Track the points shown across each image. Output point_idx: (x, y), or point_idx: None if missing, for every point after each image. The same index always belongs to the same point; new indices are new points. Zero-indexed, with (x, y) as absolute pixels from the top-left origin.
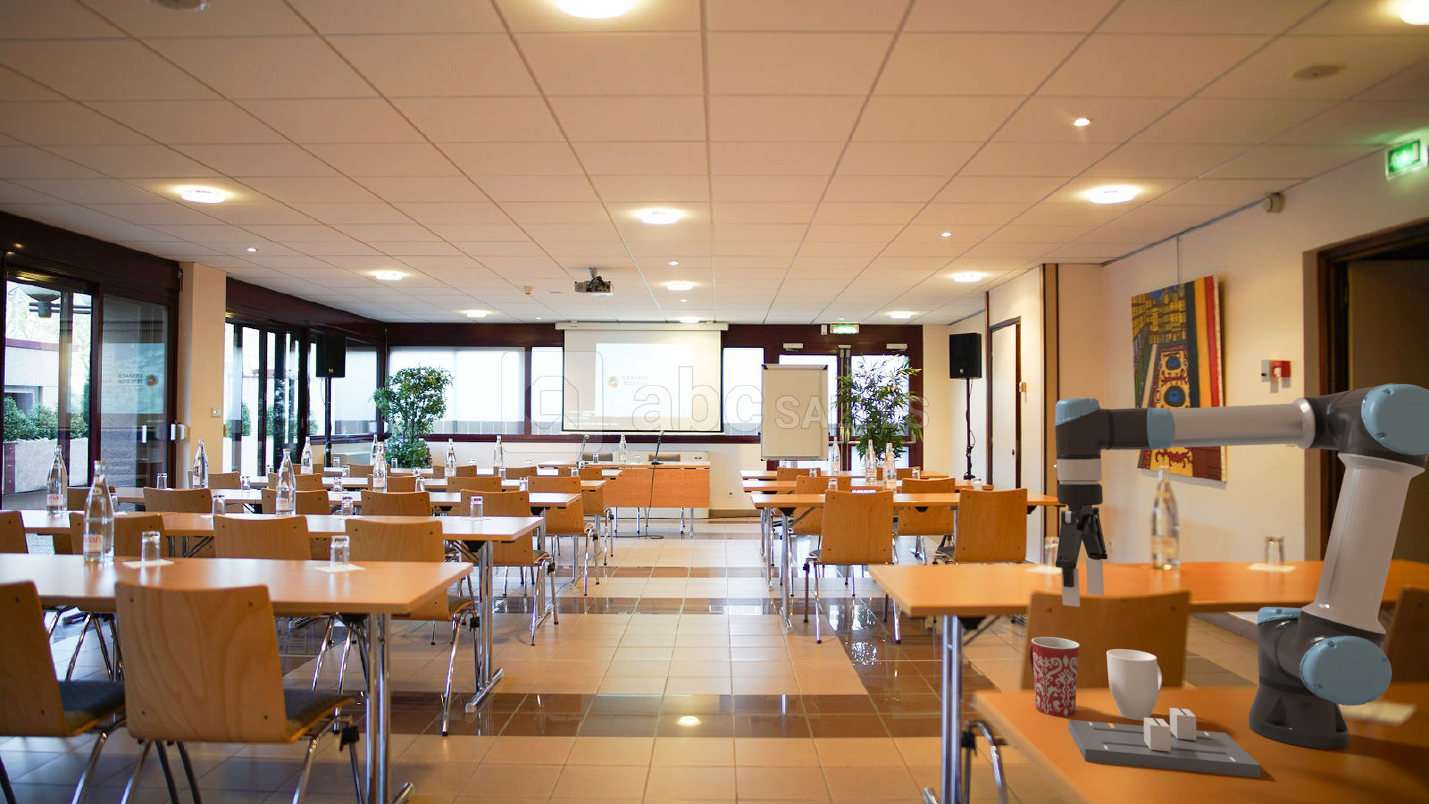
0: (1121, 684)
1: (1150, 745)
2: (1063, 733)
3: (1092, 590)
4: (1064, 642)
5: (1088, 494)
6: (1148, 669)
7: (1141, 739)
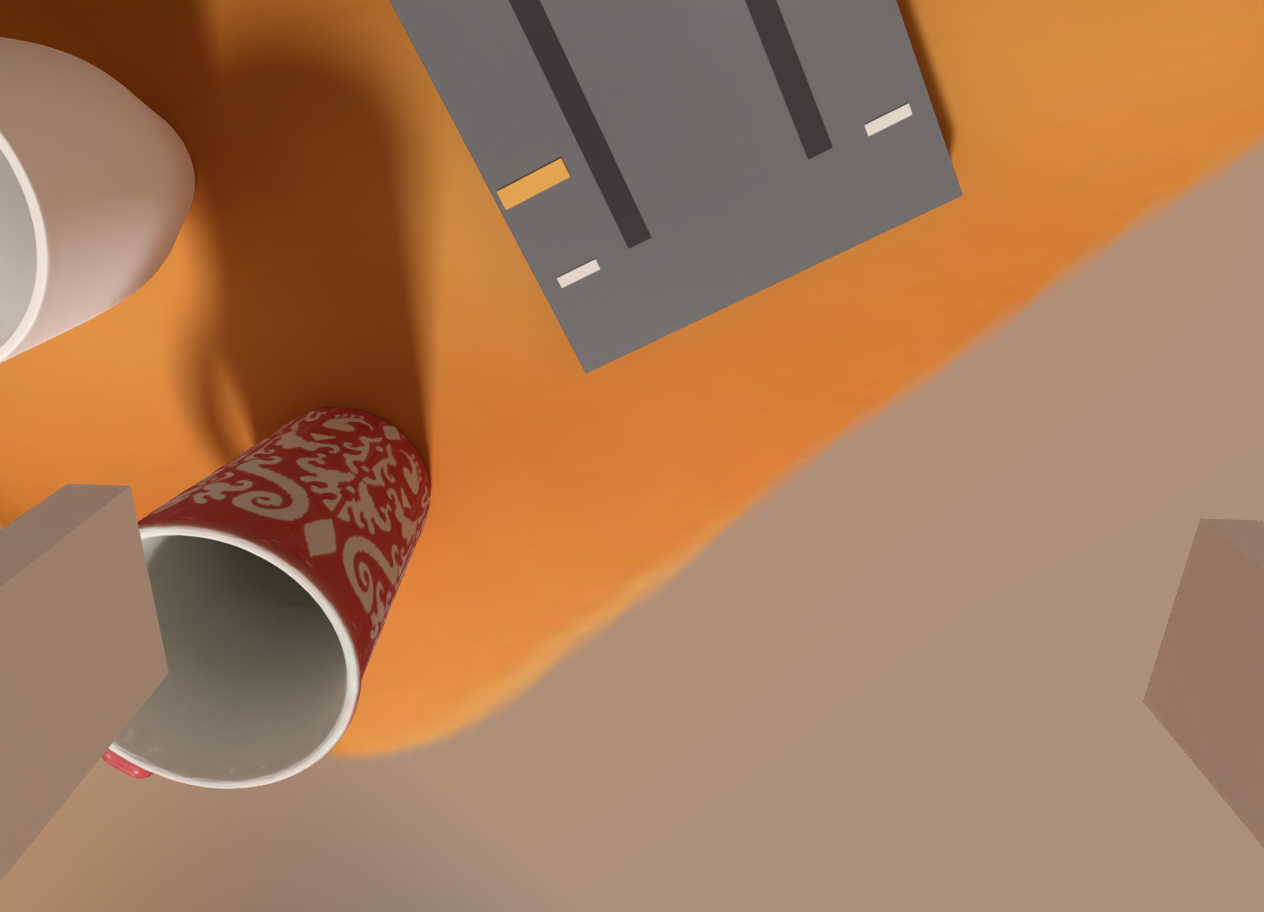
0: (145, 229)
1: None
2: (639, 367)
3: (122, 646)
4: None
5: None
6: None
7: (645, 2)
